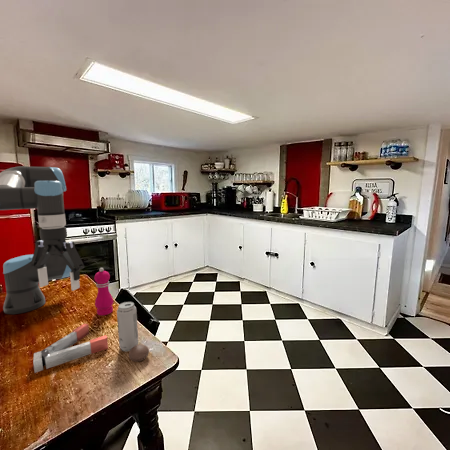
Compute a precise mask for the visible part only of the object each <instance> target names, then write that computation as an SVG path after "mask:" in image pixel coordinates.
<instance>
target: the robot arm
mask: <svg viewBox="0 0 450 450" xmlns="http://www.w3.org/2000/svg"><path fill="white" fill-rule="evenodd" d="M66 191H67V185H66V181H65V176H64V174H63V171H62V170H61V169H60V168H59V167H54V166H52V167H51V166H26V165H22V166H21V165H20V166H15V167H9V168H7V169H4V170H2V171H0V211H10V210H13V211H15V210H30V209H31V210H33V209H36V210H37V219H38V227H39V228H40V229H39V237H40V239H39V240H37V241H35V247H34V251H33V252H34V253H32V254H31V253H30V254H25V255H20V256H17V257H14V258H13V257H12V258H10V259H8V260H6V261H5V262H4V263H3V265H2V268H3V272H2V274H3V277H4V283H5V285H4V286H5V291H6V296H5V300H4V303H3V306H2V309H3V313H4V314H5V315H17V314H24V313H29V312H31V311H35V310H36V309H39V308H40V307H42V306H44V305H45V304H46V297H45V295H44V293H43V292H42V290H41V288H43V287H46V286H48V285H49V281H53V280H54V281H55V280H58V279H61V280H63V279H65V278H69V277H70V286H71V287H70V288H71V291H73V292H74V291H76V290H77V289H80V288H81V287H80V286H81V285H80V279H81V274H80V271H81V270H83V269H84V268H85V266H86V265H85V264H84V262H83V260H82V258H81V257H80V255H79V253H78V250H77V248H76V246H75V241H73V240H72V241H68V242H67V241H66V239H67V237H68V231H67V227H66V225H67V221H66V220H67V219H66V213H65V204H64V203H65V202H64V192H66Z"/></svg>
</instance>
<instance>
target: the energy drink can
mask: <svg viewBox="0 0 450 450" xmlns="http://www.w3.org/2000/svg"><path fill="white" fill-rule="evenodd" d="M137 312H138V311H137V307H136V306H135V303H134V302H133V301H124V302H121V303H120V304H119V305H118V307H117V310H116V319H117V330H118V333H117V334H118V343H119V349H121V351H122V352H130V350H131V349H132V348H133V347H134V346H136V345H139V330H138V314H137Z"/></svg>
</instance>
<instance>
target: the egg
mask: <svg viewBox="0 0 450 450" xmlns="http://www.w3.org/2000/svg"><path fill="white" fill-rule="evenodd" d="M149 353H150V350H149V347H148V346H147V345H145V344H138V345H136V346H134V347H133V348H132V349H131V350H130V351H128V357H129V359H130V360H131V361H132V362H141V361H143V360H145V359H146V358H147V357H148V356H149Z"/></svg>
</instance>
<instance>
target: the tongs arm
mask: <svg viewBox="0 0 450 450" xmlns="http://www.w3.org/2000/svg"><path fill="white" fill-rule="evenodd" d="M88 335H90V326H89V324H88V323H82V324H81V325H79V326H77V327H76V328H74V329H72V331H71V332H69V334H67V335H65V336H63V337H62V338H59V340H57V341H56V342H53V343H52V344H51V345H49V346H47V347H45V349H48V351H49V354H51V353H54V352H57V351H60V350H64V349H67V348H70V347H73V345H74V344H76V343H78V342H80V341H81V340H83V339H84V338H85V337H87V336H88Z"/></svg>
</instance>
